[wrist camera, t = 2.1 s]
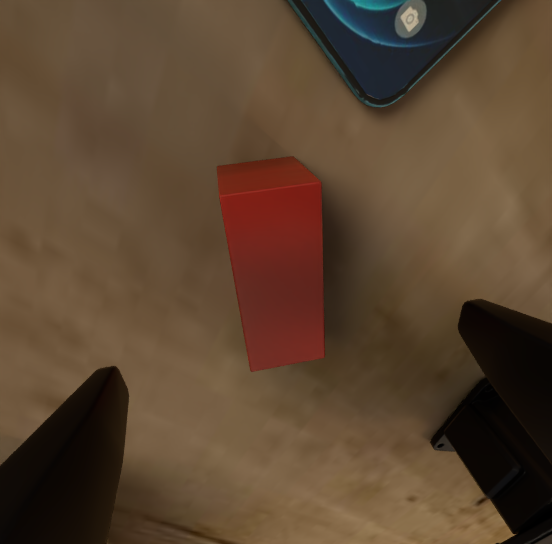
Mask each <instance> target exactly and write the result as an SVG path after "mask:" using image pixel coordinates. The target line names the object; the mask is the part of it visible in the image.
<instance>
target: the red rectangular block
mask: <svg viewBox="0 0 552 544" xmlns="http://www.w3.org/2000/svg"><path fill="white" fill-rule="evenodd" d="M217 175H218V187H219V198H220V204H221V209H222V215H223V220H224V226H225V232H226V237H227V243H228V248H229V254H230V260H231V265H232V271H233V276H234V282H235V287H236V293H237V299H238V304H239V310H240V315H241V321H242V327H243V332H244V338H245V343H246V349H247V354H248V360H249V366H250V371H251V372H254V371H259V370H264V369H269V368H274V367H279V366H285V365H290V364H295V363H300V362H305V361H310V360H316V359H321V358H324V357H325V335H324V284H323V232H322V183H321V181H320V180H319V179H318V178H316V177H315V176H314V175H313V174H312V173H311V172H310V171H309V170H308V169H307V168H305V167H304V166H303V165H302V164H301V163H300V162H299V161H298V160H297V159H295V158H294V157H293V156H292V157H284V158H276V159H269V160H261V161H253V162H245V163H238V164H230V165H222V166H217Z"/></svg>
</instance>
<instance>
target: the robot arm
mask: <svg viewBox="0 0 552 544" xmlns="http://www.w3.org/2000/svg"><path fill="white" fill-rule="evenodd" d="M458 330H459V333H460V335H461V337H462V339H463V340H464V342H465V343H466V345H467V347H468V348H469V350H470V351H471V353H472V355H473V356H474V358H475V360H476V361H477V363H478V364H479V366H480V368H481V369H482V371H483V373H484V374H485V376H486V377H487V378H485V379H483V380H481V381H480V382H479V383H478V384H477V385H476V387H475V388H474V389H473V390H472V391H471V393H470V394H469V395H468V396H467V398H466V399H465V400H464V401H463V402H462V404H461V405H460V406H459V407H458V408H457V410H456V411H455V412H454V413H453V414H452V416H451V417H450V418H449V419H448V420H447V422H446V423H445V424H444V425H443V426H442V428H441V429H440V430H439V431H438V433H437V434H436V435H435V436H434V437H433V439H432V440H431V441H430V443H431V445H432V447H433V448H434V450H439V451H454V452H456V453H457V454H458V456H459V458H460V459H461V461H462V462H463V464H464V465H465V467H466V468H467V470H468V471H469V473H470V474H471V476H472V477H473V479H474V480H475V482H476V483H477V485H478V486H479V488H480V489H481V491H482V492H483V494H484V495H485V496H486V497H487V498H488V499H490V500H491V502H492V503H493V505H494V506H495V508H496V509H497V511H498V512H499V514H500V515H501V517H502V518H503V520H504V521H505V523H506V524H507V526H508V527H509V529H510V530H511V532H512V533H513V534H516V535H515V536H513V537H511V538H509V539H507V540H506V541H504V542H502V543H496V544H552V324H551V323H548V322H545V321H543V320H540V319H537V318H534V317H531V316H528V315H526V314H523V313H520V312H517V311H514V310H511V309H508V308H506V307H503V306H500V305H497V304H494V303H491V302H489V301H486V300H483V299H475V300H470V301H466V302H465V303H464V304H463V306H462V310H461V314H460V318H459V323H458ZM128 402H129V392H128V388H127V386H126V384H125V382H124V380H123V377H122V375H121V373H120V371H119V369H118V368H117V367H116V366H110V367H105V368H100V369H98V370H96V371H95V372H94V373H93V374H92V375H91V376H90V377H89V378H88V379H87V380H86V381H85V382H84V383H83V384H82V385H81V386H80V387H79V388H78V389H77V390H76V391H75V392H74V393H73V394H72V395H71V396H70V397H69V398H68V399H67V400H66V401H65V402H64V403H63V404H62V405H61V406H60V407H59V408H58V409H57V410H56V411H55V412H54V413H53V414H52V415H51V416H50V417H49V418H48V419H47V420H46V421H45V422H44V423H43V424H42V425H41V426H40V427H39V428H38V429H37V430H36V431H35V432H34V433H33V434H32V435H31V436H30V437H29V438H28V439H27V440H26V441H25V442H24V443H23V444H22V445H21V446H20V447H19V448H18V449H17V450H16V451H15V452H14V453H13V454H12V455H11V456H10V457H9V458H8V459H7V460H6V461H5V462H4V463H3V464H2V465H1V466H0V544H106V541H107V537H108V532H109V527H110V522H111V517H112V512H113V507H114V503H115V498H116V493H117V488H118V483H119V478H120V473H121V468H122V463H123V455H124V446H125V435H126V424H127V413H128Z"/></svg>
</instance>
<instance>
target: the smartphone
mask: <svg viewBox="0 0 552 544" xmlns="http://www.w3.org/2000/svg"><path fill="white" fill-rule="evenodd" d="M500 1H501V0H288V2H289V3H290V5H291V6H292V7H293V9H294V10H295V12H296V13H297V14H298V16H299V17H300V19H301V20H302V21H303V23H304V24H305V26H306V27H307V29H308V30H309V31H310V33H311V34H312V36H313V37H314V38H315V40H316V41H317V43H318V44H319V45H320V47H321V48H322V50H323V51H324V52H325V54H326V55H327V57H328V58H329V59H330V61H331V62H332V64H333V65H334V66H335V68H336V69H337V71H338V72H339V73H340V75H341V76H342V78H343V79H344V80H345V82H346V83H347V85H348V86H349V87H350V89H351V90H352V92H353V93H354V94H355V96H356V97H357V98H358V99H359V100H360V101H361V102H363V103H364V104H366V105H368V106H372V107H385V106H388V105H390V104H392V103H394V102H396V101H397V100H399V99H400V98H401V97H402V96H404V95H405V94H406V93H407V92H408V91H409V90H410V89H411V88H412V87H413V86H414V85H415V84H416V83H417V82H418V81H419V80H420V79H421V78H422V77H423V76H424V75H425V74H426V73H427V72H428V71H429V70H430V69H431V68H433V67H434V66H435V65H436V64H437V63H438V62H439V61H440V60H441V59H442V58H443V57H444V56H445V55H446V54H447V53H448V52H449V51H450V50H451V49H452V48H453V47H454V46H455V45H456V44H457V43H458V42H459V41H460V40H461V39H462V38H463V37H464V36H465V35H466V34H467V33H468V32H469V31H470V30H471V29H472V28H473V27H474V26H475V25H476V24H477V23H478V22H479V21H481V20H482V19H483V18H484V17H485V16H486V15H487V14H488V13H489V12H490V11H491V10H492V9H493V8H494V7H495V6H496V5H497V4H498V3H499V2H500Z"/></svg>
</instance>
